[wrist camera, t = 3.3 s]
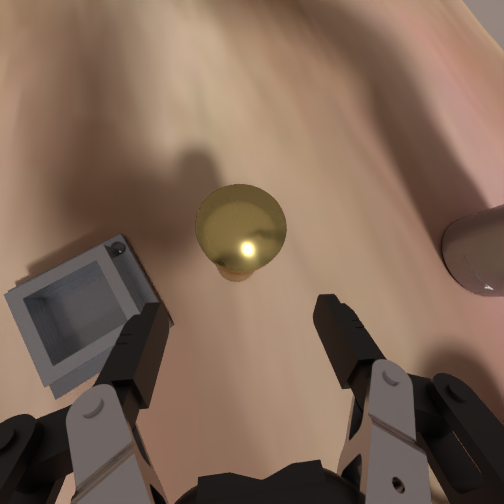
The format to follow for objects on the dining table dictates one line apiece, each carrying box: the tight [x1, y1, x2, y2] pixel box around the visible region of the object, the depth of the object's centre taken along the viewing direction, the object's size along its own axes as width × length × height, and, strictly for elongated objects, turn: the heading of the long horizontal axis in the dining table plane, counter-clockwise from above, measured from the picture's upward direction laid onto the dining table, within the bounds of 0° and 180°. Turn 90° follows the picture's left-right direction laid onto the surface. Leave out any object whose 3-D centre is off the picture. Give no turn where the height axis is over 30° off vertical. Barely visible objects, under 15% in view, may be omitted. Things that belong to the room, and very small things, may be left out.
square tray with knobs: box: [4, 234, 174, 399], centre depth 17 cm, size 10×10×3 cm
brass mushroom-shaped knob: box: [195, 184, 287, 282], centre depth 16 cm, size 5×5×11 cm
